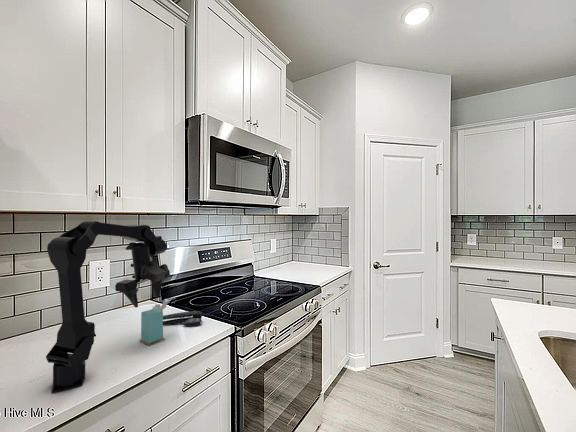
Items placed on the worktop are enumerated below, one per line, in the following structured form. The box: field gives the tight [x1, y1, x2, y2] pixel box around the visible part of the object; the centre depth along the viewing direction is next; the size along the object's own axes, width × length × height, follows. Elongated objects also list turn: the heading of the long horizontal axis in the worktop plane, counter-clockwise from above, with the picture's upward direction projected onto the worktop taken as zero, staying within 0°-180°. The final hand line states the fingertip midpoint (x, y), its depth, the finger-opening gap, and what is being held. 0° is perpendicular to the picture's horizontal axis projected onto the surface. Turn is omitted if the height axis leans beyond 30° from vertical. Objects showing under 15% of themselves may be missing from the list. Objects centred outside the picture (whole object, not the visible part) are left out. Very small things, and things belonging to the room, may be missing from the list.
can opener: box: [163, 310, 203, 328], centre depth 121 cm, size 18×7×6 cm, turn 94°
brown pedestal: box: [138, 337, 165, 347], centre depth 105 cm, size 6×6×5 cm
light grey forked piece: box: [152, 298, 170, 312], centre depth 130 cm, size 7×2×8 cm, turn 80°
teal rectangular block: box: [140, 308, 164, 343], centre depth 105 cm, size 5×5×10 cm
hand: (147, 302), depth 104 cm, fingers open, 9 cm apart
